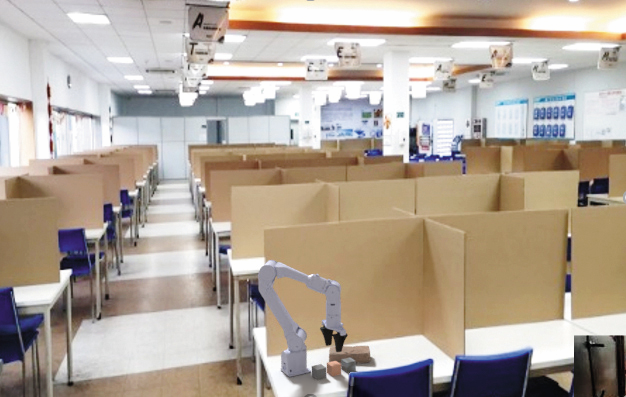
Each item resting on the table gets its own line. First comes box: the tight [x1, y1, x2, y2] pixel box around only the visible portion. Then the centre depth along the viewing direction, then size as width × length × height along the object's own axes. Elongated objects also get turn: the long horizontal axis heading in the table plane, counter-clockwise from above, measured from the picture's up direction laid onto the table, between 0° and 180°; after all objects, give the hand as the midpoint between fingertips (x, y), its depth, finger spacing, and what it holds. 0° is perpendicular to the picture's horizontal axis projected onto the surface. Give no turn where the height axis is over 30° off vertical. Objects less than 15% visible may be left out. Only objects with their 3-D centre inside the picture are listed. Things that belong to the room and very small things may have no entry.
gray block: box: [311, 363, 327, 381], centre depth 209 cm, size 4×4×4 cm
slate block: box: [340, 358, 357, 374], centre depth 215 cm, size 4×4×4 cm
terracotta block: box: [326, 361, 342, 377], centre depth 212 cm, size 4×4×4 cm
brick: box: [328, 345, 371, 364], centre depth 226 cm, size 17×8×5 cm, turn 88°
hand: (333, 348), depth 213 cm, fingers open, 7 cm apart
